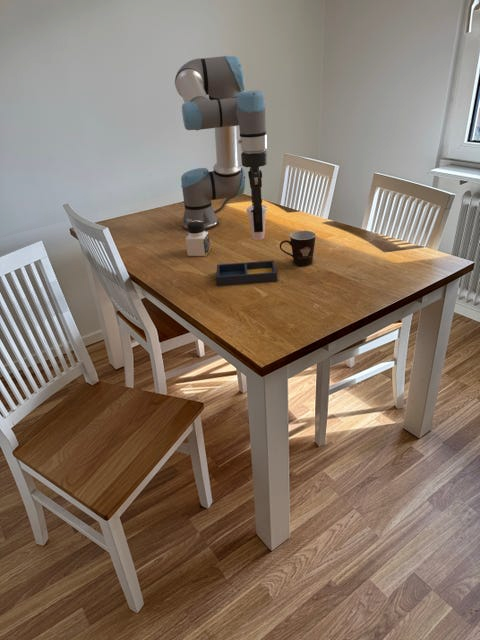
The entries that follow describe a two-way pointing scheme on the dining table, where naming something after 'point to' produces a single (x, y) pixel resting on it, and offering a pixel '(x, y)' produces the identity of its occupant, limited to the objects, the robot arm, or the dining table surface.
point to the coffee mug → (301, 247)
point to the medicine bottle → (197, 239)
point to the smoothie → (254, 234)
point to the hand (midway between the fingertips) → (257, 227)
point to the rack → (246, 273)
